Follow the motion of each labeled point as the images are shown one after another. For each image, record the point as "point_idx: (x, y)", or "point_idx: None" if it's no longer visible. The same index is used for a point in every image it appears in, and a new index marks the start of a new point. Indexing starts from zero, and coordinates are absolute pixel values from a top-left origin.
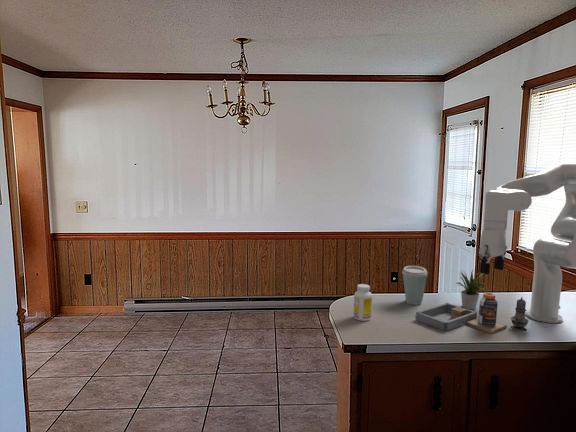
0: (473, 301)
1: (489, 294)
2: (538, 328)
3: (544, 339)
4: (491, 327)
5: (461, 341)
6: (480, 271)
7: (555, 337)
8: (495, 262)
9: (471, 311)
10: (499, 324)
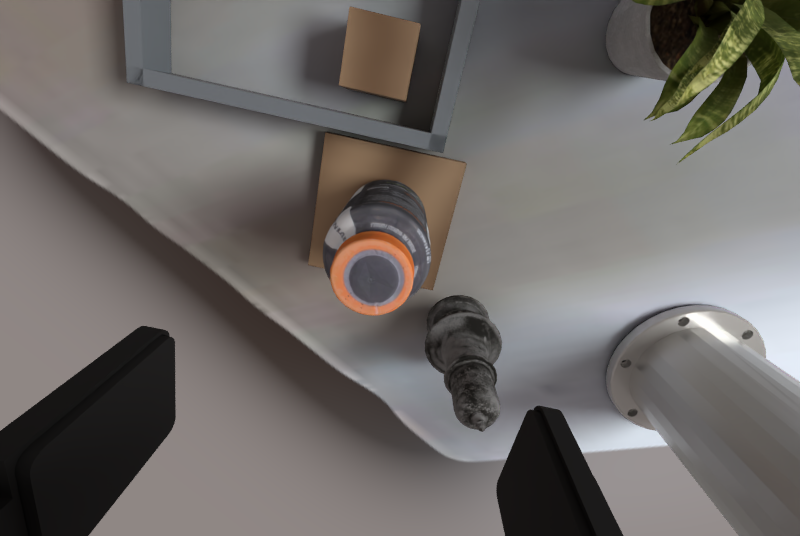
0: (635, 64)
1: (358, 283)
2: (516, 374)
3: (408, 406)
4: None
5: (118, 190)
6: (137, 336)
7: (457, 427)
8: (557, 499)
9: (434, 121)
10: None
